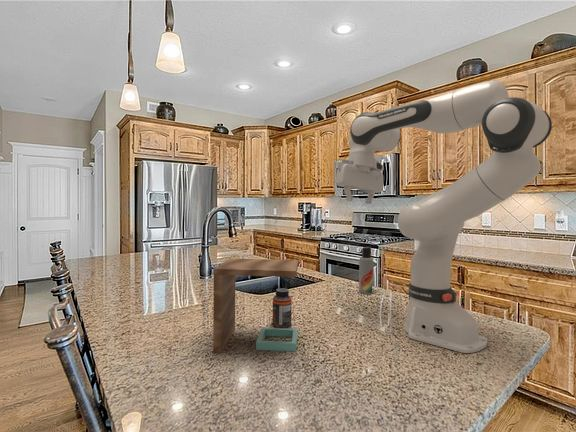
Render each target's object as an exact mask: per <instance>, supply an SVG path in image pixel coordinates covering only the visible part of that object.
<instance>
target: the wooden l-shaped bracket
mask: <svg viewBox="0 0 576 432" xmlns="http://www.w3.org/2000/svg"><path fill="white" fill-rule="evenodd" d="M298 268H299V260H298V259H265V258H263V259H262V258H261V259H260V258H232V257H231V258H227V259H226V260H224V262H223V261H222V263H220V264H219V265H217V266H216V267H214V268H213V306H212V307H213V308H212V309H213V314H212V315H213V321H212V322H213V329H212V333H213V334H212V336H213V337H212V338H213V339H212V340H213V341H212V342H213V343H212V345H213V346H212V348H213V349H212V353H213V354H214V353H215V354H221V353H222V352H223V350H224V349H225V347H226V345H227V343H228V342H229V340H230V339H231V337H232V336H233V333H234V332H235V330H236V276H245V277H246V276H247V277H275V278H276V277H280V278H297V272H298Z"/></svg>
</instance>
